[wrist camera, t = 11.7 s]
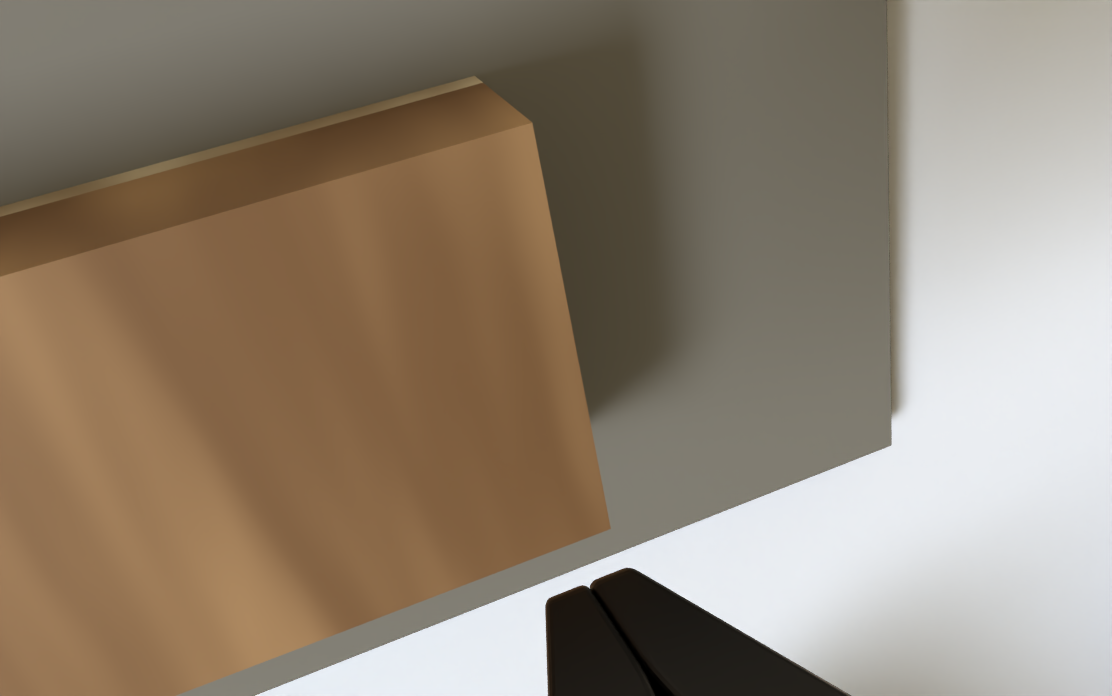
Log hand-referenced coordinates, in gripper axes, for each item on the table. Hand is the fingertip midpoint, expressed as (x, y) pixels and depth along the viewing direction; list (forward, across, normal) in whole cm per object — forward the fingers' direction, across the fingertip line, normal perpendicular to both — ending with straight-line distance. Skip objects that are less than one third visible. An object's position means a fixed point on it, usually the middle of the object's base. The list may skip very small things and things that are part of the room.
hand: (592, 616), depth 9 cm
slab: (+5, -1, 0) cm, 5 cm away
